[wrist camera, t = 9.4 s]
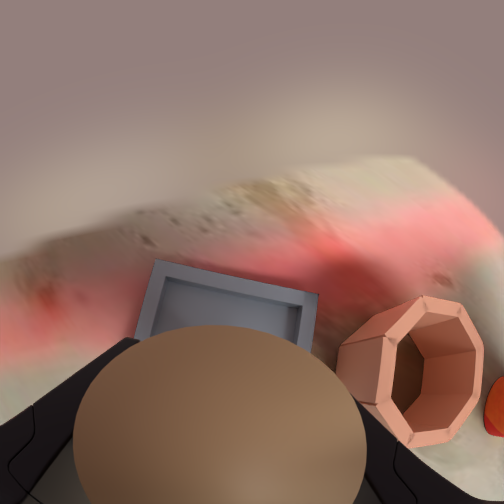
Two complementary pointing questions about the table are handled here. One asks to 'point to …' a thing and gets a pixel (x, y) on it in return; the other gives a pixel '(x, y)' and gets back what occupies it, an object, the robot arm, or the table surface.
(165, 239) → the table surface
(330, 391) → the oak peg
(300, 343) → the slate tray
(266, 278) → the table surface
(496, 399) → the paper cup
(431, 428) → the pot
